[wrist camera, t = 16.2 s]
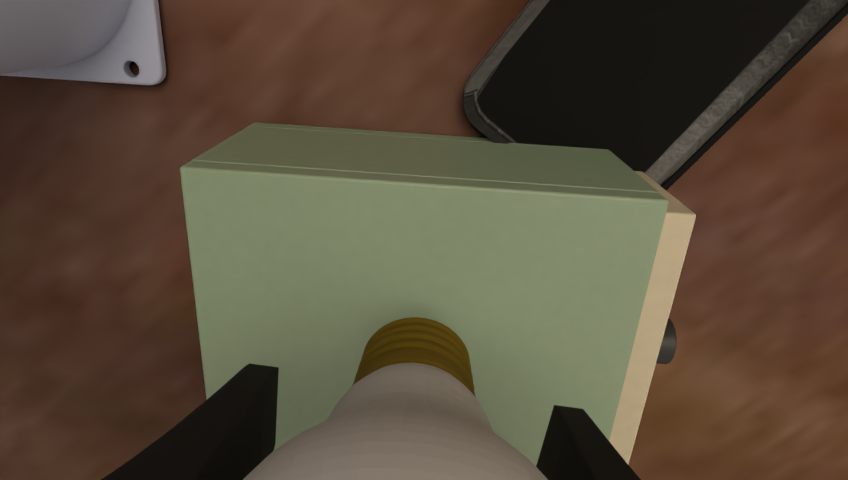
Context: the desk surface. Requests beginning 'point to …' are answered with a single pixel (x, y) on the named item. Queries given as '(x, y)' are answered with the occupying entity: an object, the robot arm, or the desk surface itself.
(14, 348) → the desk surface
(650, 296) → the drawer
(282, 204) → the cabinet
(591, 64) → the phone
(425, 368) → the light bulb
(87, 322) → the desk surface
